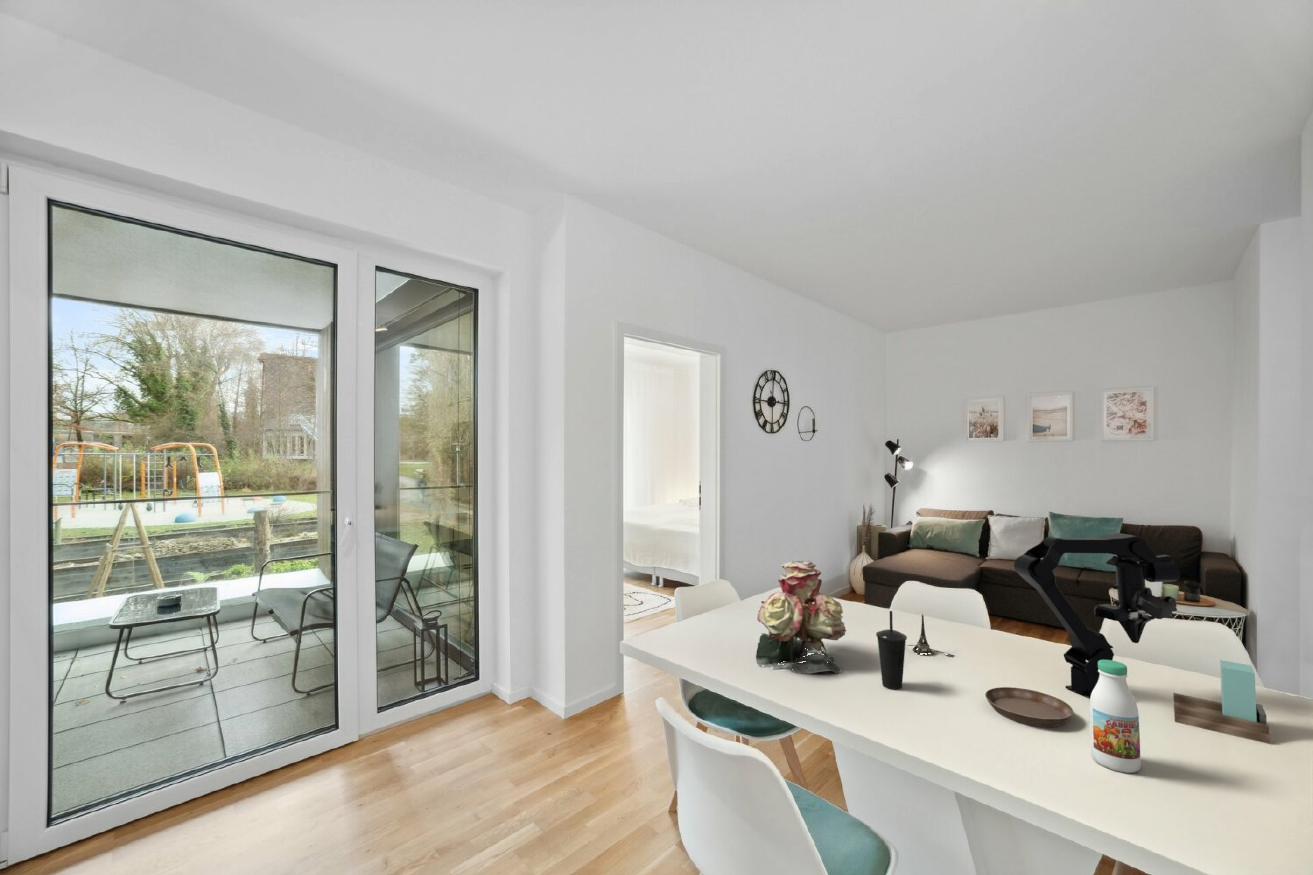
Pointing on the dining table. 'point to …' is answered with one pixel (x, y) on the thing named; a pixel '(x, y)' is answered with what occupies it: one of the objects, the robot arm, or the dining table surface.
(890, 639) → the drinking cup
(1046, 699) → the plant saucer
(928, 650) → the eiffel tower figurine
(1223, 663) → the block
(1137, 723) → the milk bottle
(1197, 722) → the chute
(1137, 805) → the dining table surface
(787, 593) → the rose bouquet
